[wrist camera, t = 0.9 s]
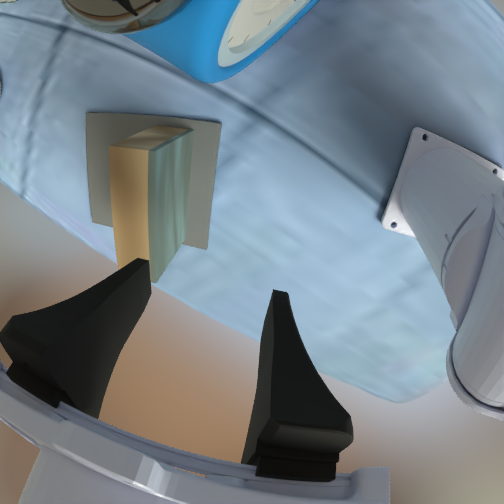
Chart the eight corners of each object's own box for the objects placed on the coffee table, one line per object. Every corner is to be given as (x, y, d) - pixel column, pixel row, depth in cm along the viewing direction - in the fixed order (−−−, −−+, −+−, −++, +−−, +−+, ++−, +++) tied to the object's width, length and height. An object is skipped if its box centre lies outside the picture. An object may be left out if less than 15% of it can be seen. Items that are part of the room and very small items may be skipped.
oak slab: (194, 130, 19) (155, 151, 14) (186, 237, 24) (156, 283, 19) (156, 125, 19) (109, 145, 14) (153, 230, 24) (118, 272, 19)
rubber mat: (221, 123, 19) (220, 123, 18) (207, 247, 25) (206, 249, 24) (89, 112, 19) (86, 113, 19) (94, 220, 25) (92, 222, 25)
